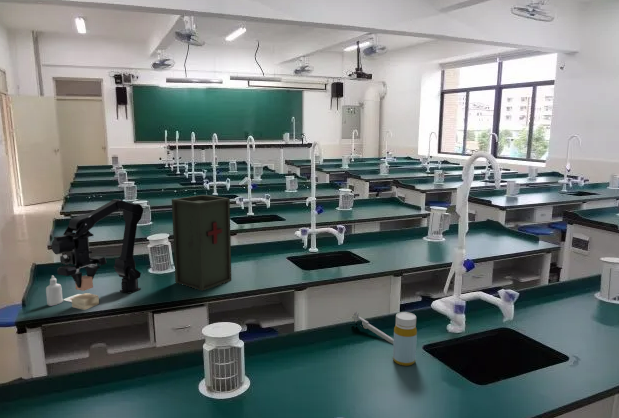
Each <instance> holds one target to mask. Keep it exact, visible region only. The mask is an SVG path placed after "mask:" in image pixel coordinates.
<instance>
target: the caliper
mask: <svg viewBox="0 0 619 418" xmlns="http://www.w3.org/2000/svg"><path fill="white" fill-rule="evenodd" d="M359 314H360V313H358V312H357V311H355V312H354V313H352V316H351V322H352V321H355V322H357V321H358V320H361V321H362V325H363V327H362V329H365V330H366V329H368V330H369V331H371V332H372V333H374V334H375V335H377V336H378V337H380V338H382V339H383V340H385V341H386V342H388V343H390V344H392V345H393V341H394V337H391V336H389V334H386V333H385V332H383V331H382V330H380V329H378V328H377V327H375V326H374V325H372V324H370V323H369V321H368V320H367V319H364V318H363V317H361V316H359Z"/></svg>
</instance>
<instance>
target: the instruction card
mask: <svg viewBox="0 0 619 418" xmlns="http://www.w3.org/2000/svg"><path fill="white" fill-rule="evenodd" d="M82 294H83V293H77V294H74V295H71V296H68V297H66V298H63V302H69V303H72V298H74V297H77V296H79V295H82Z"/></svg>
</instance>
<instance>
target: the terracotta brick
mask: <svg viewBox="0 0 619 418" xmlns="http://www.w3.org/2000/svg"><path fill="white" fill-rule="evenodd" d="M93 280H94V278H93V279H92V277H90V276H87V275H86V274H85V275H82V280H81V288H78V287H77V285H76V283H75V282H74V284H75V290H78V291H82V292H84V291H85V292H86V291H87V290H90V289H93V288H94V281H93Z"/></svg>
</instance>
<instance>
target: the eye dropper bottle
mask: <svg viewBox="0 0 619 418" xmlns="http://www.w3.org/2000/svg"><path fill="white" fill-rule="evenodd" d="M45 294H46V303H47V304H46V305H47V306H49V307H51V306H52V307H53V306H56V305H59V304H62V303H63V302H64V300H63V299H64V298H63V289H62V285H61V284H60V283H57V278H56V277H55V276H54V275H51V278H50V279H49V285H48V286H46V287H45Z"/></svg>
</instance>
